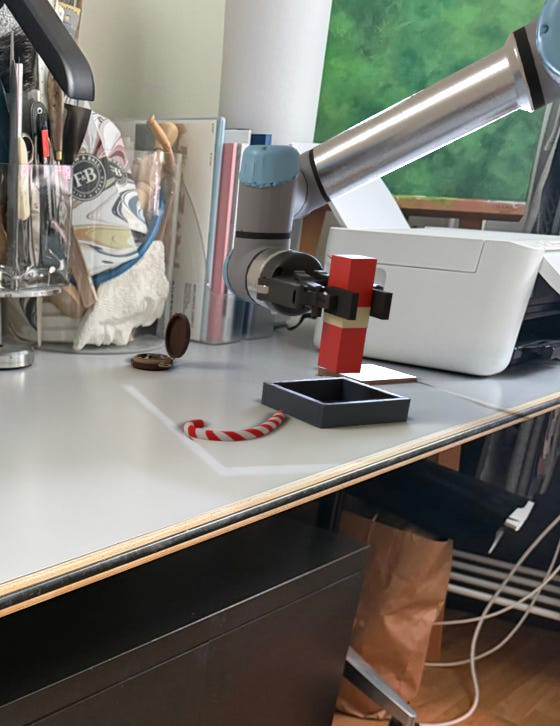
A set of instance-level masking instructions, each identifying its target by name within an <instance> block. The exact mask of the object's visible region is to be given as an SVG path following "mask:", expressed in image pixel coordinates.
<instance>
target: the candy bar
mask: <svg viewBox="0 0 560 726" xmlns="http://www.w3.org/2000/svg"><path fill="white" fill-rule="evenodd" d="M377 264H378V258H376V257H371V256H365V255H360V254H331V258H330V265H329V272H328V274H329V280H328V286H334V287H338V288H342V289H345V290H349V291H353V292H356V293H360V294H359V301H358V307H357V314H356V320H347V319H344V318H341V317H338V316H335V315H332V314H329V313H326V312H324V311H323V313H322V314H323V315H322V327H321V334H320V335H321V336H320V342H319V350H318V358H317V366H318V367H323V368H325V369H327V370H329V371H331V372H333V373H336V374H342V373H360V372H361V365H362V364H363V358H364V352H365V343H366V338H367V330H368V328H369V322H370V316H369V315H370V309H371V307H370V305H371V298H372V292H373V285H374V284H375V279H376V272H377Z"/></svg>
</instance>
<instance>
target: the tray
mask: <svg viewBox="0 0 560 726" xmlns="http://www.w3.org/2000/svg"><path fill="white" fill-rule="evenodd" d="M411 401H412V400H411V398H410V397H406V396H403V395H401V394H400V395H399V394H397V393H394V392H392V391H387V390H384V389H382V388H379V387H376V386H373V385H367V384H364V383H361V382H358V381H355V380H352V379H349V378H346V377H323V378H321V377H320V378H305V379H293V380H292V379H291V380H276V381H273V380H272V381H263V382H262V391H261V399H260V404H261V405H263V406H266V407H268V408H271V409H273V410H275V411H280V410H281V411H284V412H285V415H287V416H290V417H292V418H294V419H296V420H299V421H301V422H304V423H306V424H309V425H311V426H313V427H316V428H318V429H320V430H322V429H335V428H336V429H337V428H345V427H346V428H347V427H357V426H370V425H380V424H381V425H382V424H383V425H384V424H393V423H394V424H395V423H406V422H407V421H408V417H409V411H410V405H411Z"/></svg>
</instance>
